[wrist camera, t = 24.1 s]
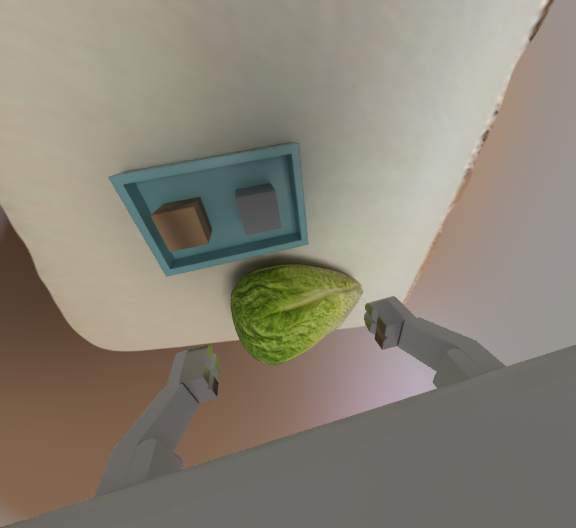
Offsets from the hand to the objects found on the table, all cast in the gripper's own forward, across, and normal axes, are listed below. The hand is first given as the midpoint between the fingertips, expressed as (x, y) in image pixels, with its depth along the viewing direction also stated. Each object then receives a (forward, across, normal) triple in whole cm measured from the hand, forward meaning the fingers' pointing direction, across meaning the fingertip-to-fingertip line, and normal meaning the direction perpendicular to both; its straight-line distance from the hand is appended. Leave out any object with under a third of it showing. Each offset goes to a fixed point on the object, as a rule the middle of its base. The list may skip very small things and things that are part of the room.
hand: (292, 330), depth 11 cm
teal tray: (+25, +4, 0) cm, 25 cm away
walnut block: (+24, +10, 0) cm, 26 cm away
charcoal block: (+24, 0, 0) cm, 24 cm away
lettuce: (+25, -4, +18) cm, 31 cm away
